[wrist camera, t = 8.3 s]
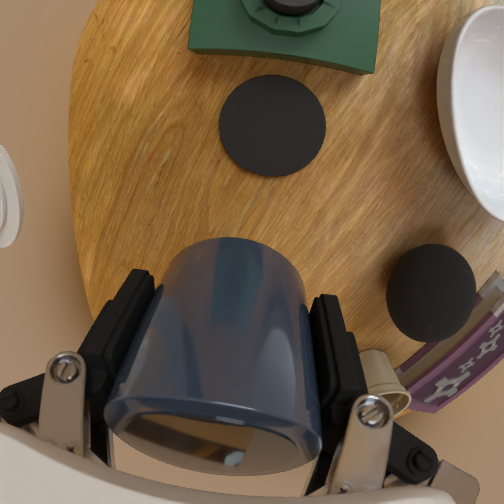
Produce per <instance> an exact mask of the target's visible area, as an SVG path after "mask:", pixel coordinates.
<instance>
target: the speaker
mask: <svg viewBox="0 0 504 504" xmlns="http://www.w3.org/2000/svg"><path fill="white" fill-rule="evenodd" d="M475 299H476V283H475V278H474V274H473V272H472V269H471V267H470V266H469V264H468V262H467V261H466V260H465V258H464V257H463V256H462V255H461V254H459V253H458V252H457V251H455V250H454V249H452V248H450V247H448V246H445V245H441V244H426V245H422V246H418V247H416V248H414V249H412V250H410V251H409V252H407V253H406V254H405V255H404V256H403V257H402V258H401V259H400V260H399V261H398V262H397V264H396V265H395V267H394V268H393V270H392V272H391V274H390V277H389V280H388V284H387V290H386V301H387V307H388V311H389V314H390V316H391V319H392V320H393V322H394V324H395V325H396V326H397V328H398V329H399V330H400V331H401V332H402V333H403V334H405V335H406V336H408V337H409V338H411V339H413V340H416V341H419V342H425V343H433V342H439V341H442V340H445V339H447V338H449V337H451V336H453V335H454V334H456V333H457V332H458V331H459V330H460V329H461V328H462V327H463V326H464V325H465V323H466V322H467V321H468V319H469V317H470V315H471V313H472V311H473V308H474V304H475Z"/></svg>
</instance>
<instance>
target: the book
mask: <svg viewBox="0 0 504 504" xmlns="http://www.w3.org/2000/svg"><path fill="white" fill-rule="evenodd" d="M503 358H504V280H503V279H502V277H501V276H500V275H499V273H498V272H497V271H495V273H494V274H493V275H492V276H491V277H490V279H489V280H488V281H487V282H486V283H485V285H484V286H483V287H482V288H481V289H480V290H479V291H478V294H477V295H476V299H475V304H474V308H473V311H472V313H471V315H470V317H469V319H468V321H467V322H466V323H465V325H464V326H463V327H462V328H461V329H460V330H459V331H458V332H457V333H456V334H454V335H453V336H451V337H449V338H447V339H445V340H442V341H439V342H433V343H427V344H426V345H425V346H424V347H423V348H422V349H421V350H419V351H418V352H417V353H416V354H415V355H414V356H412V357H411V358H410V359H409V360H408V361H406V362H405V363H404V364H403V365H401V366H400V367H398V368H397V369H396V370H394V372H395V374H396V376H397V378H398V380H399V382H400V384H401V385H402V386H403V387H404V388H405V391H406V392H408V393H409V394H410V395H411V402H410V404H409V405H408V407H407V408H406V409H412V410H417V411H423V412H429V413H436V412H437V411H438V410H440V409H441V408H443V407H444V406H446V405H447V404H448V403H450V402H451V401H453V400H454V399H455V398H457V397H458V396H459V395H460V394H462V393H463V392H465V391H466V390H467V389H468V388H469V387H471V386H472V385H473V384H475V383H476V382H477V381H478V380H479V379H481V378H482V377H483V376H484V375H485V374H487V373H488V372H489V371H490V370H491V369H492V368H493V367H494V366H495V365H497V364H498V363H499V362H500V361H501V360H502V359H503Z"/></svg>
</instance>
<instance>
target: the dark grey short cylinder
mask: <svg viewBox="0 0 504 504" xmlns="http://www.w3.org/2000/svg"><path fill="white" fill-rule="evenodd" d="M264 1H265V2H266V3H267V4H268V5H269V6H270V7H271V8H273V9H274V10H276V11H278V12H281V13H284V14H291V15H296V14H303V13H306V12H308V11H310V10H312V9H313V8H314V7H315V6H316V5H317V3H318V2H319V0H264Z"/></svg>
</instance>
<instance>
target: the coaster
mask: <svg viewBox="0 0 504 504" xmlns="http://www.w3.org/2000/svg"><path fill="white" fill-rule="evenodd" d="M219 131H220V136H221V140H222V143H223V145H224V147H225V149H226V151H227V153H228V154H229V155H230V156H231V158H232V159H233V160H234V161H235V162H236V163H237V164H239V165H240V166H241V167H243V168H245V169H246V170H248V171H250V172H253V173H255V174H259V175H263V176H283V175H288V174H291V173H294V172H296V171H298V170H300V169H302V168H303V167H305V166H306V165H307V164H309V163H310V162H311V161H312V160H313V159H314V158H315V156H316V155H317V153H318V152H319V150H320V148H321V146H322V144H323V141H324V137H325V131H326V121H325V116H324V112H323V109H322V107H321V105H320V103H319V101H318V99H317V98H316V96H315V95H314V94H313V93H312V92H311V91H310V90H309V89H308V88H307V87H306V86H304V85H303V84H301V83H300V82H298V81H295V80H293V79H291V78H288V77H284V76H278V75H265V76H260V77H256V78H253V79H250V80H248V81H246V82H244V83H243V84H241V85H240V86H238V87H237V88H236V89H235V90H234V91H233V92H232V93H231V94H230V95H229V96H228V98H227V100H226V101H225V103H224V105H223V107H222V110H221V114H220V119H219Z"/></svg>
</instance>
